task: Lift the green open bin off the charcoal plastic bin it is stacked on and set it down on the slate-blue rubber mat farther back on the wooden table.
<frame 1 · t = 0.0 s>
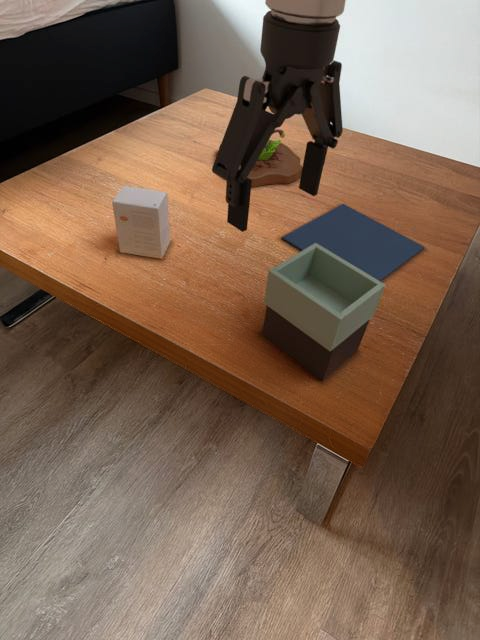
hand: (274, 207, 58), 20 cm above the table, tool pointing down, fingers open, 13 cm apart
green open bin: (318, 309, 64), point 7 cm above the table, touching bin lower
bin lower: (309, 342, 69), on the table, touching green open bin
mat: (353, 243, 88), on the table
small box: (145, 248, 83), on the table
plant: (257, 166, 109), on the table
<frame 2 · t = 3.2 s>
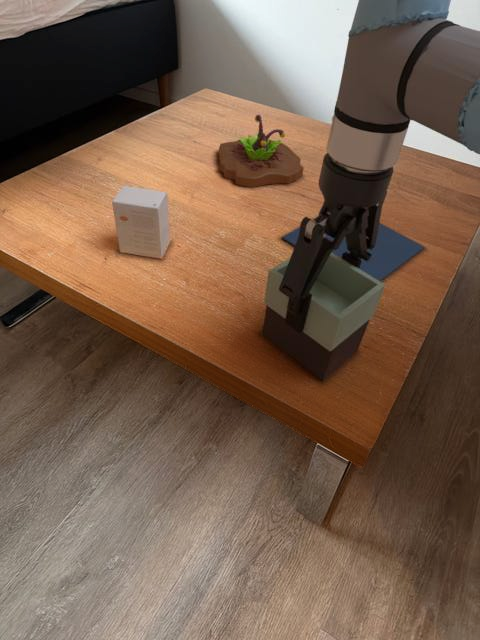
hand: (318, 308, 64), 7 cm above the table, tool pointing down, fingers closed on green open bin, 10 cm apart
green open bin: (318, 310, 64), point 7 cm above the table, touching bin lower, gripper
everything else where it was.
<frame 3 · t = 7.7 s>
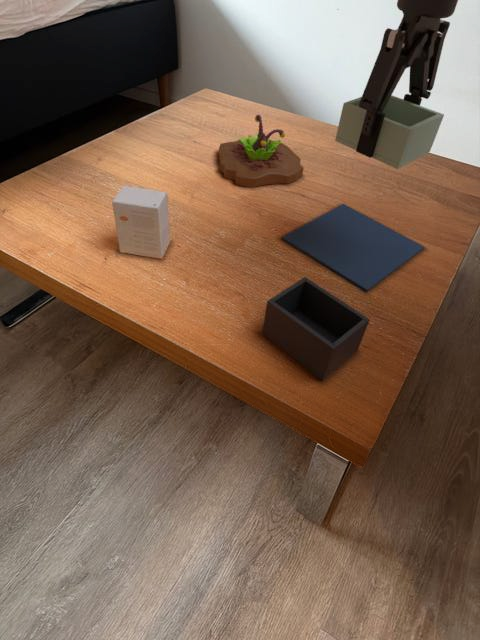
hand: (382, 145, 74), 20 cm above the table, tool pointing down, fingers closed on green open bin, 10 cm apart
green open bin: (382, 146, 74), point 20 cm above the table, touching gripper
bin lower: (309, 342, 69), on the table
everything else where it was.
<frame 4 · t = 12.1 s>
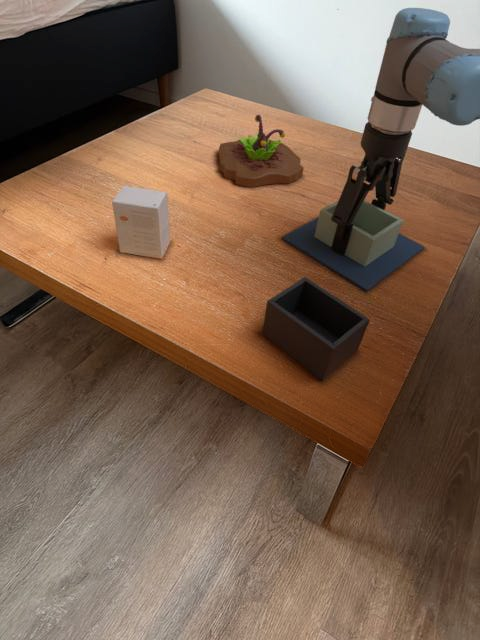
hand: (354, 240, 88), 1 cm above the table, tool pointing down, fingers closed on green open bin, 10 cm apart
green open bin: (353, 241, 88), point 1 cm above the table, touching gripper
everything else where it was.
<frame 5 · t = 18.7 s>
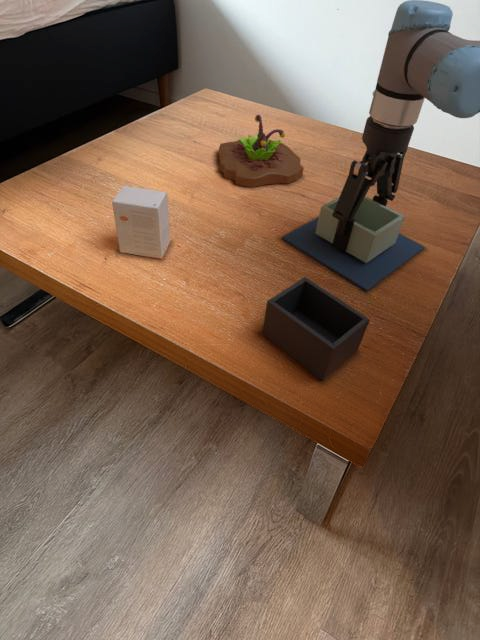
hand: (355, 237, 87), 2 cm above the table, tool pointing down, fingers closed on green open bin, 10 cm apart
green open bin: (355, 238, 87), point 1 cm above the table, touching gripper
everything else where it was.
when the fingers open (2 cm above the table, at t = 25.2 s): green open bin drops 2 cm, resting on mat.
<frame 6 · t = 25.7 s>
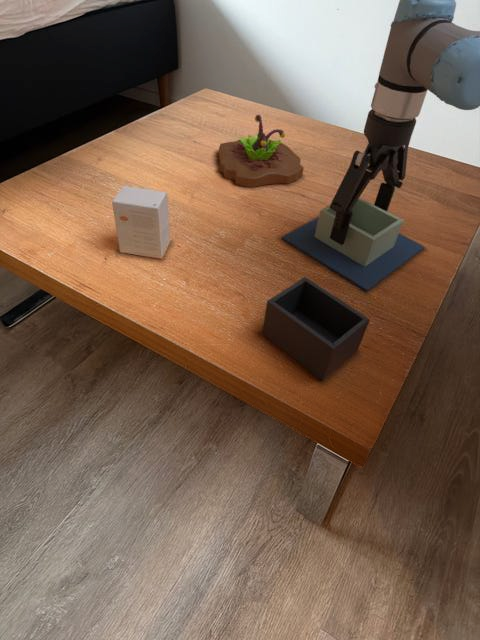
hand: (358, 228, 86), 4 cm above the table, tool pointing down, fingers open, 13 cm apart
green open bin: (353, 241, 88), resting on mat
everything else where it was.
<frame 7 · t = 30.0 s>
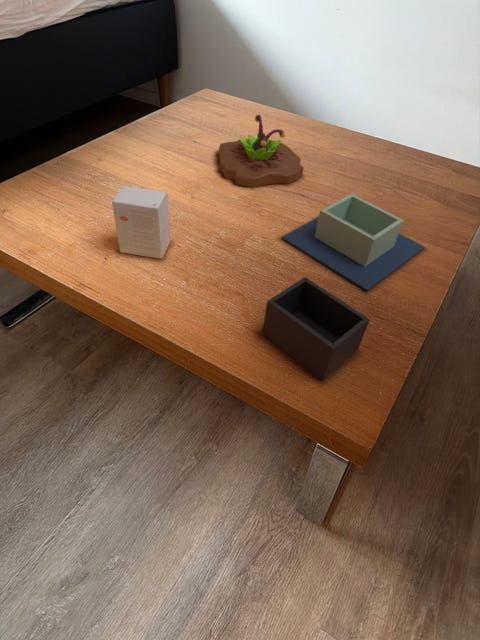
nothing on the table moved.
at the end: green open bin inside the target area on the mat (0.0 cm from its centre), point 0.5 cm above the mat's base; green open bin tilted 0°; bin lower moved 0.0 cm from its start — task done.
